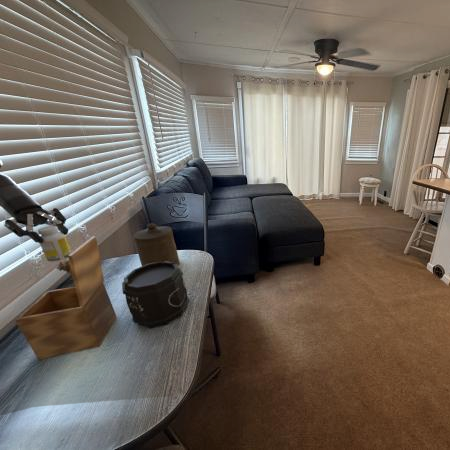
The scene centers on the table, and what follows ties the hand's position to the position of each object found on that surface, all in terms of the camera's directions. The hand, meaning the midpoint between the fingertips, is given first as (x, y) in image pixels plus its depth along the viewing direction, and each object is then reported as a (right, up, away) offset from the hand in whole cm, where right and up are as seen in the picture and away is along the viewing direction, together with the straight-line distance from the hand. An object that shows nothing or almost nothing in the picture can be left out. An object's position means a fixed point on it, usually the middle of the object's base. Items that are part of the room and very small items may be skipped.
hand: (54, 237), depth 82 cm
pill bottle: (-1, -8, +4) cm, 9 cm away
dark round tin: (+36, -26, +3) cm, 44 cm away
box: (+16, -30, -8) cm, 35 cm away
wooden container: (+20, -16, +29) cm, 39 cm away
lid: (+23, -9, -14) cm, 28 cm away
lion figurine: (-12, -19, +23) cm, 32 cm away
